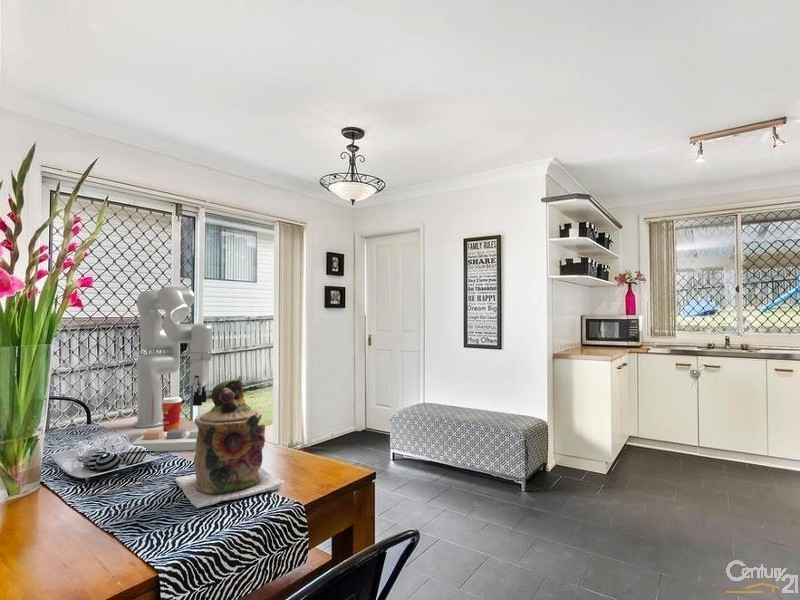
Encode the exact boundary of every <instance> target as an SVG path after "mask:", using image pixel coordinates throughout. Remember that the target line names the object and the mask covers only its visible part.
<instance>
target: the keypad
mask: <svg viewBox="0 0 800 600" xmlns="http://www.w3.org/2000/svg"><path fill="white" fill-rule="evenodd" d="M190 431H191V430H186V435H185V436H184V437H183V438H182V439H167V432H164V435H163V437H161V438H160V439H154V440H144V434H143V435H142V436H140V437H139V438H137V439H135V440H134V441H133V442H131V443H130V445H134V446H143V447H146V448H147V450H148V451H155V452H175V451H177V452H178V451H179V452H181V451H196V450H195V449H196V441H197V438H189V436H190ZM130 445H129V446H130Z"/></svg>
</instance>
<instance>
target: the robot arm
mask: <svg viewBox="0 0 800 600" xmlns="http://www.w3.org/2000/svg"><path fill="white" fill-rule="evenodd" d="M195 298H196V297H195V293H194V292H193V290H192V289H191V288H189V287H184V286H183V287H181V286H164V287H162V288H160V289H159V290H144V291H142V292H141V293H139V294H138V296H137V300H136V301H137V302H136V307H137V311H138V315H139V318H140V347H141V349H143V350H144V351H166V352H156V353H146V354H142V355H140V356H139V357H138V358H137V359H136V364H135V366H136V371H137V383H138V384H137V388H138V389H137V416H136V417H137V421H134V422H133V423H132V427H133V428H136V429H147V428H148V429H149V428H150V429H151V428H156V427H161V426H163V404H162V401H163V383H162V381H161V379H160V378H159V377H158V375H164V374H165V375H167V374H174V373H176V372H178V371H179V369H180V365H181V344H188V343H189V344H190V351H189V361H190V362H191V363H190V371H189V372H190V373H189V382H188V383H189V384H188V386H189V388H192V389H193V390H192V406H194V407H199V406H203V403H206V402H207V385H208V384H209V378H210V363H209V362H210V361H212V345H213V328H212V326H211V325H209V324H202V323H177V322H180V321H182V320H184V319H185V318H187V316H188V315H189V313H190V307H191V306H193V304H194V303H195ZM160 310H161V311H164V312H165V313H166V314H165V315H164V318H162V316H161V314H160V313H159V312H158V311H160Z"/></svg>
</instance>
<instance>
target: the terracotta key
mask: <svg viewBox="0 0 800 600" xmlns="http://www.w3.org/2000/svg"><path fill="white" fill-rule="evenodd" d="M143 435H144V440H154V439H160V438H161V437H163V435H164V430H163V429H148V430H147V431H146V432H144V433H143Z"/></svg>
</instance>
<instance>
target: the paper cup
mask: <svg viewBox="0 0 800 600" xmlns="http://www.w3.org/2000/svg"><path fill="white" fill-rule="evenodd" d="M182 402H183V400H182V397H180V396H171V397H170V396H168V397H163V398H162V419H163V425H162V427H163V429H162V430H164V432H169V431H170V430H171V429H180V428H179V427H180V419H181V407H182Z"/></svg>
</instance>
